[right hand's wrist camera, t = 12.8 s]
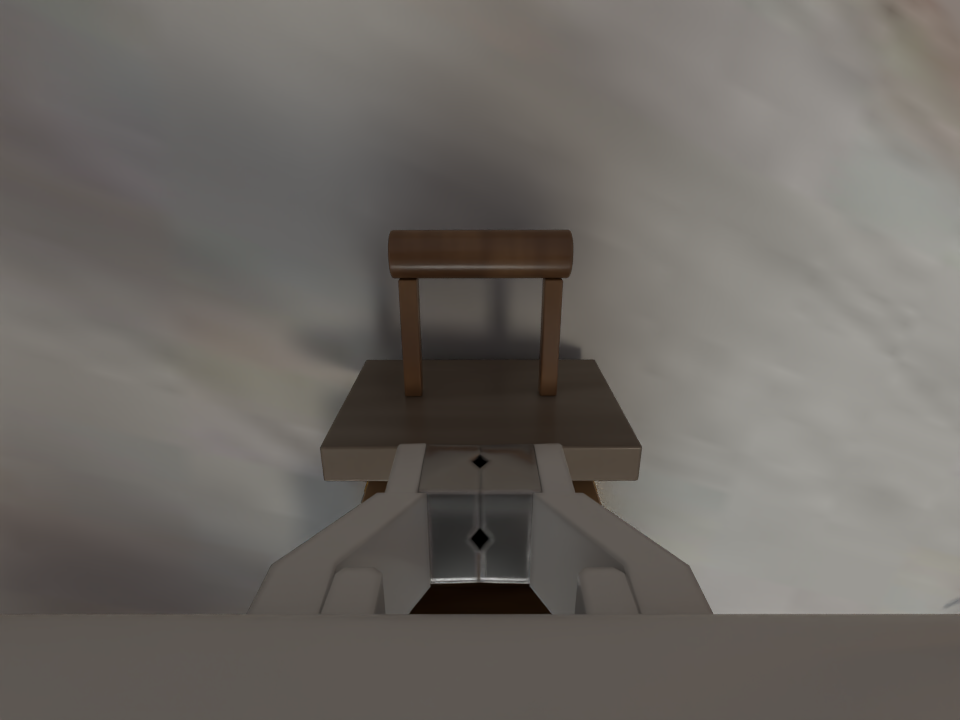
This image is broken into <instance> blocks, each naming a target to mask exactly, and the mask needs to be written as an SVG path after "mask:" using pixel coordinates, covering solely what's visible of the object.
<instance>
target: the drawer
mask: <svg viewBox="0 0 960 720" xmlns="http://www.w3.org/2000/svg"><path fill="white" fill-rule="evenodd" d="M388 261H389V269H390V273H391V276H392V278H400V279H399V281H398V285H399V303H400V320H401V338H402V355H403V360H366V362H365V364H364V366H363V368H362V370H361V371H360V373H359V375H358V377H357V379H356V381H355V383H354V385H353V387H352V388H351V390H350V392H349V394H348V396H347V398H346V400H345V402H344V404H343V405H342V407H341V409H340V411H339V413H338V415H337V417H336V419H335V420H334V422H333V424H332V426H331V428H330V430H329V432H328V434H327V436H326V437H325V439H324V441H323V443H322V445H321V447H320V451H321V459H322V467H323V475H324V480H325V481H368V484H367V487H366V490H365V493H364V496H363V499H362V502H361V503H363V502H364V501H366V500H367V499H369V498H370V497H372V496H373V495H375V494H376V493H385V490H386V486H387V483H388V479H389V476H390V472H391V468H392V465H393V461H394V458H395V454H396V451H397V447H398V446H399V445H400V444H411V443H426V444H470V445H505V444H548V443H560V444H561V445H562V448H563V451H564V455H565V458H566V462H567V465H568V469H569V472H570V476H571V479H572V483H573V487H574V490H575V493H584V494H585V495H587V496H588V497H590V498H591V499H593V500H594V501H596V502H597V503H599V504H600V505H601V502H600V499H599V496H598V493H597V490H596V487H595V484H594V481H636V480H638V475H639V467H640V459H641V451H642V446H641V444H640V443H639V441H638V439H637V437H636V435H635V433H634V431H633V430H632V428H631V426H630V424H629V422H628V420H627V419H626V417H625V415H624V413H623V411H622V409H621V408H620V406H619V404H618V402H617V400H616V398H615V397H614V395H613V393H612V391H611V389H610V387H609V385H608V384H607V382H606V380H605V378H604V376H603V374H602V373H601V371H600V369H599V367H598V365H597V363H596V362H595V360H559V343H560V325H561V307H562V289H563V280H562V278H568V277H569V276H570V274H571V271H572V264H573V237H572V233H571V231H570V230H392V231H391V232H390V234H389V240H388ZM419 278H543V285H542V309H541V333H540V357H539V360H422V347H421V324H420V301H419ZM430 585H431V587H430V588H429V589H428V590H427V592H426V593H425V594H424V595H423V597H422V598H421V599H420V600H419V602H418V603H417V604H416V605H415V606H414V608H413V609H412V610H411V611H410V613H409V614H551V612H550V611H549V610H548V609H547V607H546V606H545V605H544V604H543V602H542V601H541V600H540V599H539V597H538V596H537V595H536V594H535V592H534V591H533V590H532V589H531V587H530V586H529V585H530V584H518V583H482V582H477V583H441V584H430Z"/></svg>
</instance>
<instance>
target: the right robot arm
mask: <svg viewBox="0 0 960 720" xmlns="http://www.w3.org/2000/svg"><path fill="white" fill-rule="evenodd" d="M477 582H482V583H518V584H530V585H529V586H530V587H531V589H532V590H533V591H534V592H535V594H536V595H537V596H538V597H539V599H540V600H541V601H542V602H543V604H544V605H545V606H546V607H547V609H548V610H549V611H550V612H551V614H409V613H410V611H411V610H412V609H413V608H414V606H415V605H416V604H417V603H418V602H419V600H420V599H421V598H422V597H423V595H424V594H425V593H426V592H427V590H428V589H429V588H430V587H431V585H430V584H441V583H477ZM0 720H960V614H713V612H712V610H711V608H710V606H709V604H708V602H707V600H706V598H705V596H704V594H703V592H702V590H701V588H700V586H699V584H698V582H697V580H696V578H695V576H694V574H693V572H692V570H691V568H690V566H689V565H688V564H686V563H685V562H683V561H682V560H680V559H679V558H677V557H676V556H674V555H673V554H671V553H670V552H669V551H667V550H666V549H664V548H663V547H661V546H660V545H658V544H657V543H655V542H654V541H653V540H651V539H650V538H648V537H647V536H645V535H644V534H642V533H641V532H639V531H638V530H636V529H635V528H634V527H632V526H631V525H629V524H628V523H626V522H625V521H623V520H622V519H620V518H619V517H618V516H616V515H615V514H613V513H612V512H610V511H609V510H607V509H606V508H604V507H603V506H602V505H600V504H599V503H597V502H596V501H594V500H593V499H591V498H590V497H588V496H587V495H585V494H584V493H575V490H574V487H573V483H572V479H571V476H570V472H569V469H568V465H567V462H566V458H565V455H564V451H563V448H562V445H561V444H560V443H548V444H505V445H470V444H426V443H411V444H400V445H399V446H398V447H397V451H396V454H395V458H394V461H393V465H392V468H391V472H390V476H389V479H388V483H387V486H386V490H385V493H376V494H375V495H373V496H372V497H370V498H369V499H367V500H366V501H364V502H363V503H361V504H360V505H358V506H357V507H356V508H354V509H353V510H351V511H350V512H348V513H347V514H345V515H344V516H342V517H341V518H339V519H338V520H336V521H335V522H334V523H332V524H331V525H329V526H328V527H326V528H325V529H323V530H322V531H320V532H319V533H317V534H316V535H314V536H313V537H312V538H310V539H309V540H307V541H306V542H304V543H303V544H301V545H300V546H298V547H297V548H295V549H294V550H293V551H291V552H290V553H288V554H287V555H285V556H284V557H282V558H281V559H279V560H278V561H276V562H275V563H273V564H272V565H271V567H270V569H269V571H268V573H267V575H266V577H265V579H264V581H263V583H262V585H261V587H260V588H259V590H258V592H257V594H256V596H255V598H254V600H253V602H252V604H251V606H250V608H249V610H248V612H247V614H0Z"/></svg>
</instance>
